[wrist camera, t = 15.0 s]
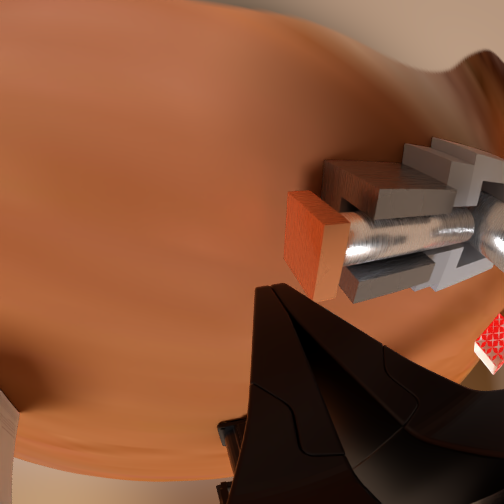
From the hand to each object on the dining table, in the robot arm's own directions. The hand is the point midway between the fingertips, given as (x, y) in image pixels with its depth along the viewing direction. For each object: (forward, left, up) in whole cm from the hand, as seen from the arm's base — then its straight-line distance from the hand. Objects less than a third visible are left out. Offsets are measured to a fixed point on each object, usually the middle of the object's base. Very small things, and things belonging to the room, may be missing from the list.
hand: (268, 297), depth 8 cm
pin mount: (0, -7, -6) cm, 9 cm away
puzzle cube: (-29, -51, -6) cm, 59 cm away
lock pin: (0, -8, -4) cm, 9 cm away
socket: (0, -15, -6) cm, 16 cm away
